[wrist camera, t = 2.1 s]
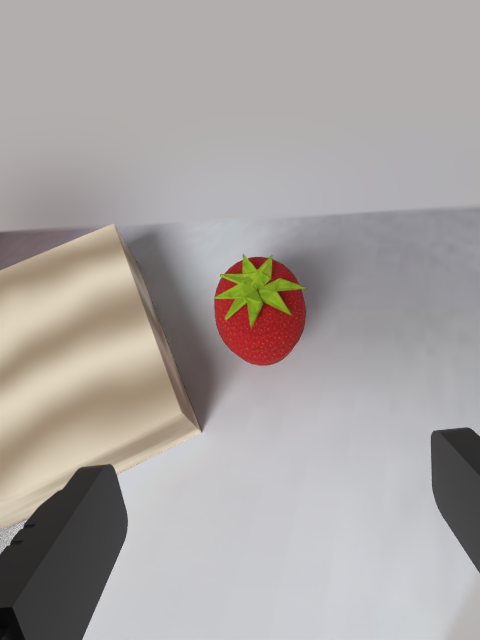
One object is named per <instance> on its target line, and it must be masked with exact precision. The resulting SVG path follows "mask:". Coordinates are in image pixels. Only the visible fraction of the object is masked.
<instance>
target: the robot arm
mask: <svg viewBox="0 0 480 640" xmlns="http://www.w3.org/2000/svg"><path fill="white" fill-rule="evenodd" d="M431 463H432V489H433V494H434V498H435V501H436V504H437V506H438V509H439V511H440V513H441V514H442V516H443V518H444V519H445V521H446V522H447V524H448V525H449V527H450V528H451V530H452V531H453V533H454V535H455V536H456V538H457V539H458V541H459V542H460V544H461V545H462V547H463V548H464V550H465V551H466V553H467V554H468V556H469V558H470V559H471V561H472V562H473V564H474V565H475V567H476V568H477V570H478V571H479V573H480V436H479V435H477V434H476V433H475V432H474V431H473V430H472V429H470V428H467V427H465V428H456V429H446V430H437V431H433V433H432V435H431ZM127 526H128V517H127V511H126V508H125V504H124V500H123V497H122V493H121V489H120V486H119V482H118V478H117V474H116V471H115V469H114V467H113V466H112V465H111V464H105V465H95V466H86V467H80V468H79V469H78V470H77V471H76V472H75V473H74V475H73V476H72V477H71V479H70V480H69V481H68V483H67V484H66V485H65V487H64V488H63V489H62V490H58V491H57V492H56V493H55V494H53V495H52V496H51V497H50V498H49V499H47V500H46V501H45V502H44V503H42V504H41V505H40V506H39V507H38V508H37V509H36V510H35V512H34V513H33V514H32V515H31V517H30V518H29V519H28V520H27V522H26V523H25V524H24V528H23V529H20V530H19V532H18V533H17V534H16V535H15V537H14V538H13V539H12V540H11V544H10V546H7V547H6V548H5V549H4V550H3V552H2V553H1V554H0V640H82V639H83V636H84V634H85V632H86V629H87V627H88V625H89V622H90V620H91V618H92V615H93V613H94V611H95V608H96V606H97V604H98V601H99V599H100V597H101V594H102V592H103V590H104V587H105V585H106V583H107V581H108V578H109V576H110V574H111V571H112V569H113V567H114V564H115V562H116V560H117V557H118V555H119V553H120V550H121V548H122V546H123V543H124V541H125V538H126V534H127Z"/></svg>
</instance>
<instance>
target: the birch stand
mask: <svg viewBox="0 0 480 640" xmlns="http://www.w3.org/2000/svg"><path fill="white" fill-rule="evenodd" d="M200 433H202V432H201V429H200V427H199V424H198V422H197V419H196V416H195V414H194V411H193V408H192V406H191V403H190V401H189V398H188V395H187V393H186V390H185V387H184V385H183V382H182V379H181V377H180V374H179V372H178V369H177V366H176V364H175V361H174V358H173V356H172V353H171V351H170V348H169V345H168V343H167V340H166V337H165V335H164V332H163V329H162V327H161V324H160V322H159V319H158V316H157V314H156V311H155V308H154V306H153V303H152V301H151V298H150V295H149V293H148V290H147V287H146V285H145V282H144V279H143V277H142V274H141V272H140V269H139V266H138V264H137V261H136V260H135V258H134V256H133V255H132V253H131V251H130V250H129V248H128V246H127V245H126V243H125V241H124V240H123V238H122V237H121V235H120V233H119V232H118V230H117V228H116V227H115V225H114V224H111V225H109V226H106V227H104V228H102V229H99V230H97V231H94V232H92V233H89V234H87V235H85V236H82V237H80V238H77V239H75V240H73V241H70V242H68V243H65V244H63V245H61V246H58V247H56V248H53V249H51V250H49V251H46V252H44V253H41V254H39V255H37V256H34V257H32V258H29V259H27V260H25V261H22V262H20V263H17V264H15V265H13V266H10V267H8V268H5V269H3V270H0V528H9V527H11V526H14V525H16V524H18V523H20V522H22V521H24V520H26V519H28V518H30V517H31V515H32V514H33V513H34V512H35V510H36V509H37V508H38V507H39V506H40V505H41V504H42V503H44V502H45V501H46V500H47V499H49V498H50V497H51V496H52V495H53V494H55V493H56V492H57V491H58V490H62V489H63V488H64V487H65V485H66V484H67V483H68V481H69V480H70V479H71V477H72V476H73V475H74V473H75V472H76V471H77V470H78V469H79V468H80V467H86V466H95V465H105V464H111V465H112V466H113V467H114V469H115V471H116V474H119V473H121V472H123V471H125V470H127V469H129V468H131V467H133V466H135V465H137V464H139V463H141V462H143V461H145V460H147V459H149V458H151V457H153V456H155V455H157V454H159V453H161V452H163V451H165V450H168V449H170V448H172V447H174V446H176V445H178V444H180V443H182V442H184V441H186V440H188V439H190V438H192V437H194V436H196V435H198V434H200Z"/></svg>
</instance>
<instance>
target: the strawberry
mask: <svg viewBox="0 0 480 640" xmlns="http://www.w3.org/2000/svg"><path fill="white" fill-rule="evenodd" d="M220 277H222V278H221V280H220V282H219V284H218V287H217V289H216V294H215V306H214V307H215V319H216V325H217V328H218V331H219V334H220V336H221V338H222V339H223V341H224V343H225V344H226V345H227V346H228V347H229V348H230V349H231V351H233V352H234V353H235V354H237V355H238V356H239V357H241V358H242V359H243V360H245V361H247V362H249V363H251V364H255V365H260V366H263V365H271V364H275V363H277V362H279V361H281V360H283V359H284V358H285V357H286V356H287V355H288V354H289V353H290V352H291V350H292V349H293V348H294V346H295V345H296V343H297V342H298V341H299V339H300V337H301V334H302V332H303V329H304V324H305V316H306V309H305V302H304V298H303V294H302V291H301V289H306V288H305V287H303V286H300V285H299V283H298V281H297V280H296V278H295V276H294V275H293V274H292V273H291V271H290V270H289V269H288V268H286V267H285V266H284V265H283V264H281V263H279V262H277V261H275V260H273V259H272V255H271V256H270V257H269V258H264V257H252V258H248V259H247V258H246V256H245V255H244V254H243V260H242V261H240V262H238V263H236V264H235V265H233V266H232V267H231V268H229V269H228V271H227V272H226V273H225V274H220Z"/></svg>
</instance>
